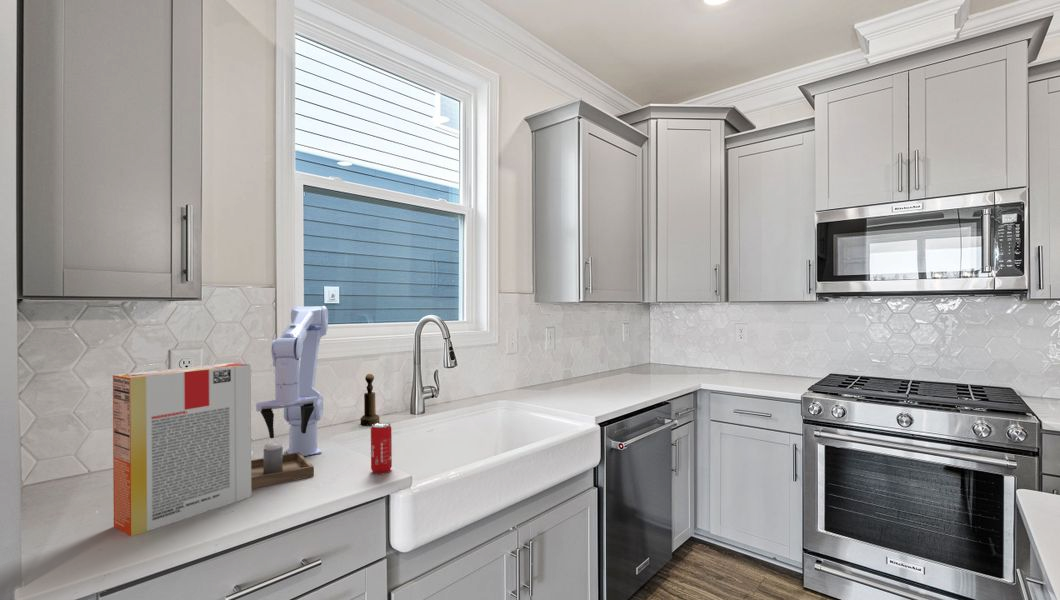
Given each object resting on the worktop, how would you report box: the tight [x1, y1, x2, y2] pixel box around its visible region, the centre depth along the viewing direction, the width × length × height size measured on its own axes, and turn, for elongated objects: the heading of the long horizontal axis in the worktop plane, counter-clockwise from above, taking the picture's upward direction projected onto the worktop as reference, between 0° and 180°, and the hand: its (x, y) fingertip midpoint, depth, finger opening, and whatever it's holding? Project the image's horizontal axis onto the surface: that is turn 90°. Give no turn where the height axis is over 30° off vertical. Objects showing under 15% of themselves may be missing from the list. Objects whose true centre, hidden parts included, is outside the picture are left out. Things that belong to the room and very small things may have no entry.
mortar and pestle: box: [360, 373, 381, 426], centre depth 186 cm, size 7×6×18 cm
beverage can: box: [370, 422, 393, 475], centre depth 133 cm, size 5×5×12 cm
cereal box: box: [112, 362, 252, 537], centre depth 109 cm, size 23×8×30 cm, turn 148°
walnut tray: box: [251, 452, 315, 490], centre depth 131 cm, size 16×16×2 cm
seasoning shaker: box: [262, 442, 284, 475], centre depth 131 cm, size 4×4×7 cm
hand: (287, 435), depth 134 cm, fingers open, 7 cm apart
